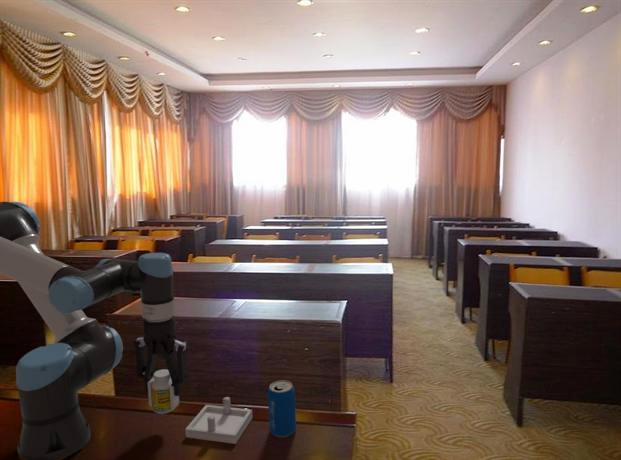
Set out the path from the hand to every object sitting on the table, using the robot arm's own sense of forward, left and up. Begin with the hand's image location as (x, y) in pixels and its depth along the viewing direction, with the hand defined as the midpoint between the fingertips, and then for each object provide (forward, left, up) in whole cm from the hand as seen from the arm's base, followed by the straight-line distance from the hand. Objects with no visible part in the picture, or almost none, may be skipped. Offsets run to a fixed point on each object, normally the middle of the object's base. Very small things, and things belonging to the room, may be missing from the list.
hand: (164, 404), depth 114 cm
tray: (+14, +2, -6) cm, 15 cm away
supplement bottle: (0, 0, -1) cm, 1 cm away
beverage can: (+30, +4, -6) cm, 31 cm away
